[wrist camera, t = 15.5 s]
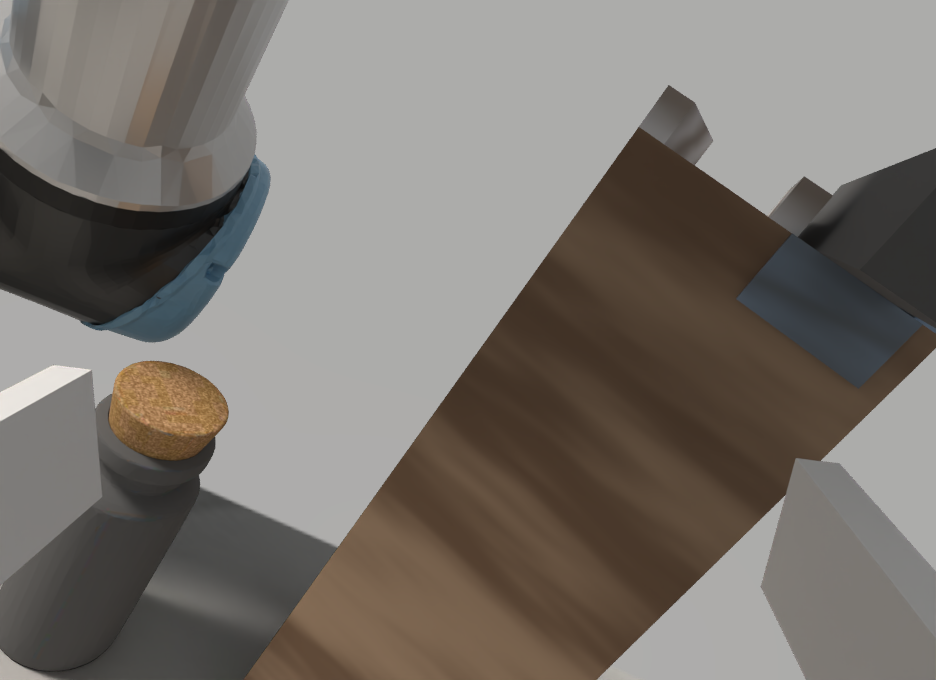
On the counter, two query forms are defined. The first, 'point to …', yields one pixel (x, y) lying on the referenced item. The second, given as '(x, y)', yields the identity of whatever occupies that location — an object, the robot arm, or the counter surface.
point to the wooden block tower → (607, 433)
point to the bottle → (116, 519)
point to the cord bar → (886, 233)
